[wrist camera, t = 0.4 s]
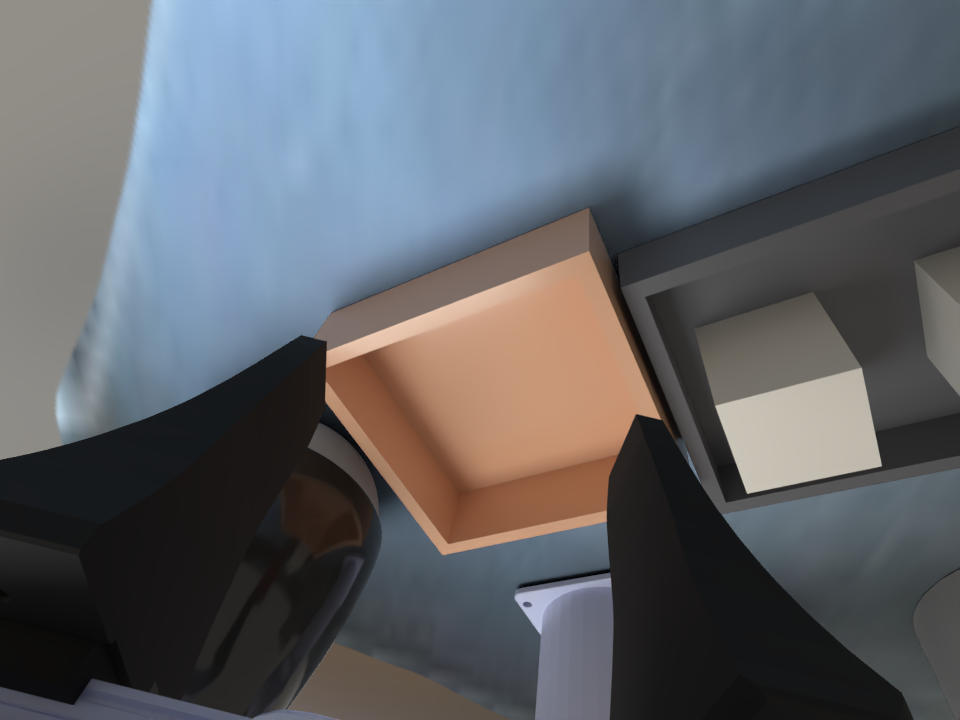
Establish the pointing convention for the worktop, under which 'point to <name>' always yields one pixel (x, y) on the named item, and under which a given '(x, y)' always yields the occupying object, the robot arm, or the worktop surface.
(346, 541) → the dark grey rounded dome
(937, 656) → the coffee mug
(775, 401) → the stone
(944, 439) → the parts tray
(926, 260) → the stone
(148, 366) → the worktop surface
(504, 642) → the worktop surface
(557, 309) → the terracotta dish
